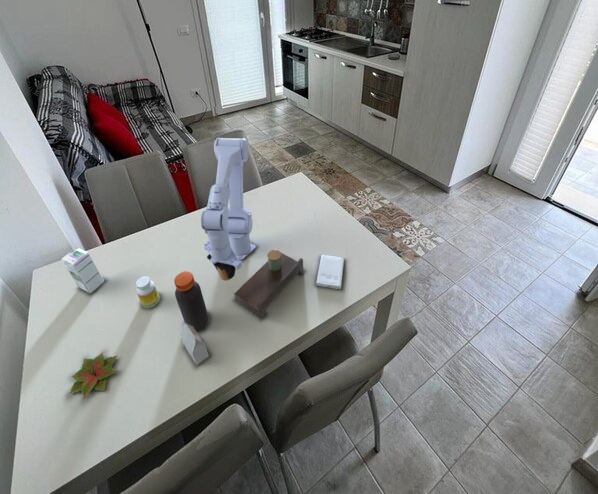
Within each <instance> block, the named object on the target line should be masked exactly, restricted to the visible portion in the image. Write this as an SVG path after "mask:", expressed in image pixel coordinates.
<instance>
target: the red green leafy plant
mask: <svg viewBox="0 0 598 494" xmlns="http://www.w3.org/2000/svg"><path fill="white" fill-rule="evenodd" d="M117 358H118V355H115V356H108V357H106V358H105V355H104V352H103V351H102V352H101V353H100V354H98V355H97V356H95V357H94V358H93V357H92V358H83V362H82V364H81V368H80V369H79V370H78V371H76V372H75V373H74V374H73V375H71V376H70V378H72V379H73V380H74V381H75V382H74V383H73V385H72V387H71V388H70V391H69V392H68V394H67V395H71V394H74V393H78V392H81V394H82V396H83V399H84V400H85V399H86V397H87V396H88V395H89V393H90V392H91V391H92V390H94V391H103V392H105V390H106V385H107V378H108V377H110V376H112V375H114V374H117V371H116V370H115V369H114V368H113V367H112V366H113V364H114V363H115V361H116V359H117Z"/></svg>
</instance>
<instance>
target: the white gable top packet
mask: <svg viewBox="0 0 598 494" xmlns="http://www.w3.org/2000/svg"><path fill="white" fill-rule="evenodd" d="M185 323H186V322H183V326H182V330H181V333H180V336H181V340H182V342H183V345H184V347H185V349H186V350H187V352H188V354H189V355H190V357H191V359H192V360H193V362H194V363H195V365H196V366H198V365H199V364H201V362H203V361H204V360H206V359H207V358H208V357H209V356H210V354H209V353H208V349H207V345H206V343H205V342H204V340H203V339H202V338H201V335H200V334H199V333H198V331H196V330H195V328H194V327H193V326H191V325H188V324H187V323H186V324H185Z"/></svg>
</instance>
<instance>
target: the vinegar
mask: <svg viewBox="0 0 598 494" xmlns="http://www.w3.org/2000/svg"><path fill="white" fill-rule="evenodd" d="M173 280H174V281H173V282H174V285H175V291H174V296H175V297H174V298H175V299H176V303H177V305H178V308H179V311H180V312H181V316H182V319H183V323H185V322H186V323H187V324H188V325H191V326H193V327H194V328H195V330H196V331H197V332H199V331H200V332H201V331H202V330H204V329H205V328H206V327H207V325H208V324H209V319H210V318H209V317H210V316H209V314H208V309H207V305H206V303H205V299H204V295H203V292H202V288H201V286H200V284H199V282H197V281H196V280H195V277H194V275H193V273H192V272H191V271H182V272H180V273H178V274H176V276H175V277H174V279H173ZM186 323H185V324H186Z"/></svg>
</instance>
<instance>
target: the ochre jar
mask: <svg viewBox="0 0 598 494" xmlns="http://www.w3.org/2000/svg"><path fill="white" fill-rule="evenodd" d="M223 265H225V264H224V263H220V262H217V268H218V271H217V272H218V276H219V279H220V280H222V281H225V282H226V281H230V280H231V279H229V278H228V277H227V274H226V272H225V270H224V269H223V268H222V266H223Z"/></svg>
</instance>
